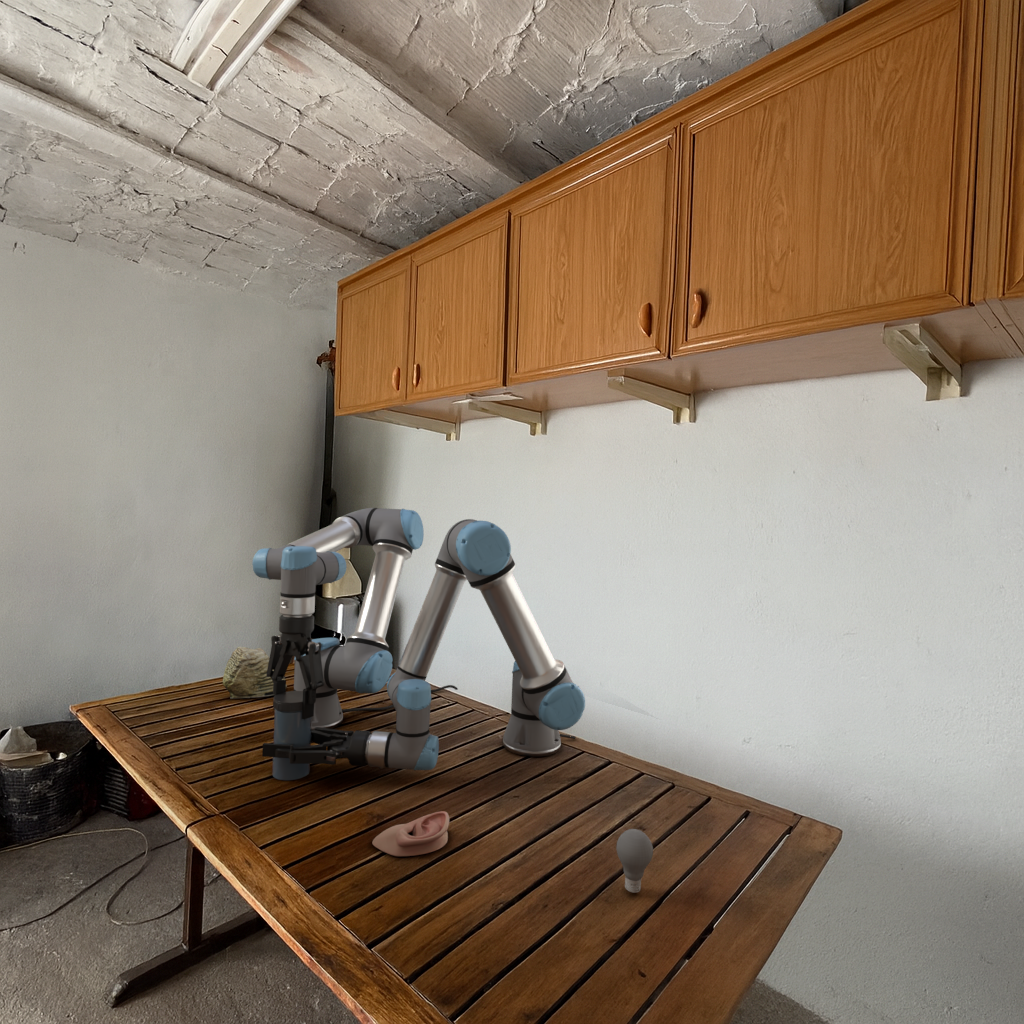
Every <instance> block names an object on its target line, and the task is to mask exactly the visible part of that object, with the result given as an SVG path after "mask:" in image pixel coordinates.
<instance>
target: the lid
mask: <svg viewBox="0 0 1024 1024" xmlns="http://www.w3.org/2000/svg"><path fill="white" fill-rule="evenodd" d="M302 704H303V691H294V690H288V691H286V692H283V693H280V694H277V695H276V696H274V695H273V700H272V707H273V709H274V708H275V709H276V710H279V711H285V712H294V711H302Z"/></svg>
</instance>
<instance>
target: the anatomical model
mask: <svg viewBox="0 0 1024 1024" xmlns="http://www.w3.org/2000/svg"><path fill="white" fill-rule="evenodd" d="M449 827H450V816H449V813H448V812H447V811H442V810H441V811H436V812H432V813H429V814H426V815H424V816H421V817H418V818H416V819H414V820H412V821H410V822H407V823H401V824H395V825H393V826H390V827H389V828H387V829H385V830H383V831H381V833H379V834H378V835H376V836H375V837H374V838H373V839H372V845H373V847H375V848H376V849H378V850H380V851H381V852H383V853H385V854H388V855H390V856H394V857H410V856H411V857H412V856H419V855H425V854H429V853H433V852H435V851H438V850H440V849H442V848H443V847H445V846H446V845H447V843H448V840H449V833H448V829H449Z"/></svg>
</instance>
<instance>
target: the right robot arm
mask: <svg viewBox="0 0 1024 1024" xmlns="http://www.w3.org/2000/svg"><path fill="white" fill-rule="evenodd" d="M434 566H435V568H436V569H435V570H436V571H435V573H434V575H433V578H432V581H431V583H430V585H429V588H428V591H427V593H426V595H425V598H424V601H423V603H422V605H421V607H420V610H419V613H418V616H417V618H416V620H415V623H414V625H413V628H412V630H411V633H410V636H409V637H408V640H407V643H406V644H405V648H404V649H403V650H404V651H403V653H402V655H401V658H400V660H399V663H398V665H397V668H396V670H395V672H393V673H391V675H390V677H389V679H388V681H387V683H386V689H387V691H386V693H387V696H388V697H389V698H388V699H390V701H391V702H392V705H394V707H393V708H394V710H395V712H396V713H395V714H396V719H395V720H396V721H395V732H391V731H376V730H375V731H374V730H373V732H371V731H370V730H359V729H358V730H357V729H356V730H355V731H354V730H341V729H335V728H333V729H328V728H321V727H315V728H314V730H311V746H300V747H293V744H291V745H286V744H273V742H272V743H271V742H264V743H262V750H261V751H262V755H261V757H264V758H265V757H266V758H273V757H278V758H290V764H310V765H313V764H314V765H315V764H316V765H318V764H320V765H321V764H322V765H323V764H325V765H330V766H331V765H332V766H333V765H336V764H337V760H341V759H347V760H348V763H349V765H350V766H353V767H366V766H368V767H372V768H379V769H380V770H383V769H385V768H387V769H401V770H412V771H432V770H434V769H435V767H436V766H437V763H438V760H439V751H440V743H439V742H440V740H439V737H438V735H434V734H431V731H430V725H431V724H430V723H431V721H430V720H431V703H432V692H431V690H432V686H431V684H430V683H429V681H428V680H427V677H428V675H429V671H430V669H431V666H432V664H433V662H434V659H435V657H436V654H437V652H438V649H439V647H440V644H441V641H442V639H443V638H444V634H445V631H446V630H447V628H448V625H449V622H450V620H451V617H452V614H453V612H454V609H455V607H456V604H457V602H458V600H459V596H460V594H461V592H462V589H463V587H464V584H465V582H466V581H467V582H468V584H469V586H470V588H472V589H476V590H479V591H480V593H481V595H482V597H483V600H484V601H485V603H486V605H487V607H488V609H489V611H490V613H491V615H492V618H493V619H494V621H495V623H496V625H497V627H498V629H499V632H500V633H501V635H502V637H503V639H504V641H505V643H506V645H507V647H508V649H509V652H510V653H511V655H512V657H513V659H514V662H513V666H512V671H511V674H512V677H511V678H512V680H511V681H512V682H511V706H510V707H511V710H510V717H509V720H508V722H507V725H506V727H505V730H504V733H503V736H502V746H503V748H504V749H506V750H507V751H508V752H510V753H512V754H515V755H519V756H524V757H530V758H531V757H533V758H537V757H539V758H540V757H548V756H552V755H555V754H556V753H558V752H560V750H561V747H562V741H561V739H562V738H565V739H572V740H576V739H577V738H576V735H575V736H574V735H569V734H563V733H560V731H564V730H568V729H570V728H572V727H573V726H575V725H576V724H577V723H578V722H579V721H580V719H582V716H583V713H584V711H585V709H586V697H585V694H584V691H582V689H581V688H580V686H579V685H578V684H576V683H574V681H573V680H572V677H571V676H570V674H569V672H568V670H567V668H566V666H565V663H564V662H563V661H562V660H560V659H556V658H554V655H553V653H552V651H551V649H550V647H549V645H548V643H547V641H546V639H545V637H544V635H543V633H542V631H541V628H540V626H539V625H538V623H537V620H536V618H535V616H534V615H533V612H532V610H531V608H530V606H529V604H528V602H527V599H526V598H525V596H524V593H523V592H522V589H521V588H520V585H519V584H518V583H519V582H517V579H516V578H515V575H514V571H515V568H516V563H515V561H514V558H513V556H512V546H511V542H510V539H509V537H508V534H507V533H506V532H505V531H504V530H503V529H502V528H501V527H500V526H498V525H496V524H495V523H493V522H491V521H488V520H477V519H473V518H468V519H462V520H460V521H457V522H455V523H454V524H453V525H452V526H450V528H449V529H448V531H447V532H446V535H445V536H444V539H443V541H442V544H441V546H440V548H439V552H438V555H437V557H436V560H435V562H434ZM426 680H427V681H426ZM570 736H571V737H570Z"/></svg>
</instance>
